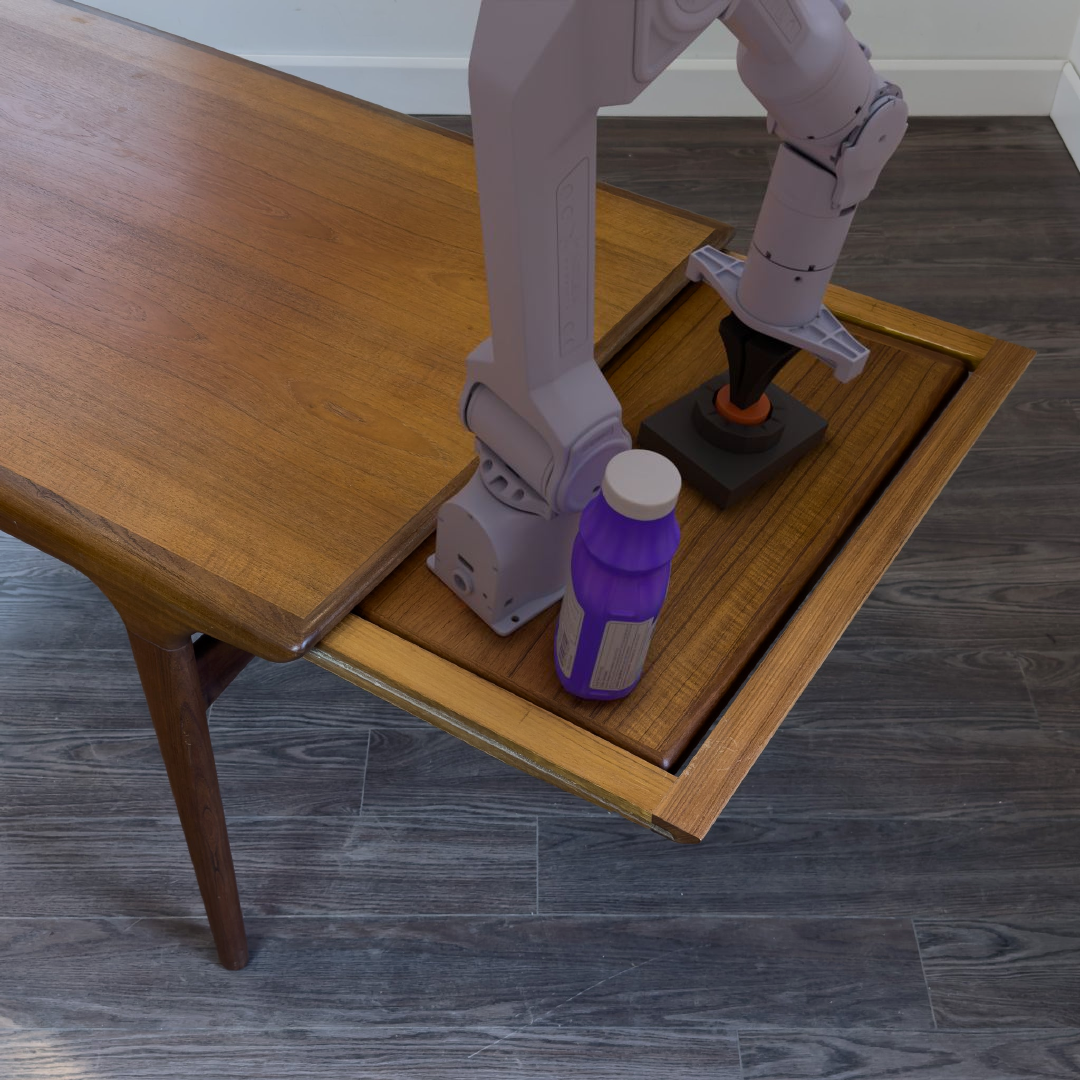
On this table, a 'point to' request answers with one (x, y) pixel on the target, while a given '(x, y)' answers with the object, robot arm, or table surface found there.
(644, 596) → the bottle
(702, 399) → the button base
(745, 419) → the push button
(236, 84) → the table surface
